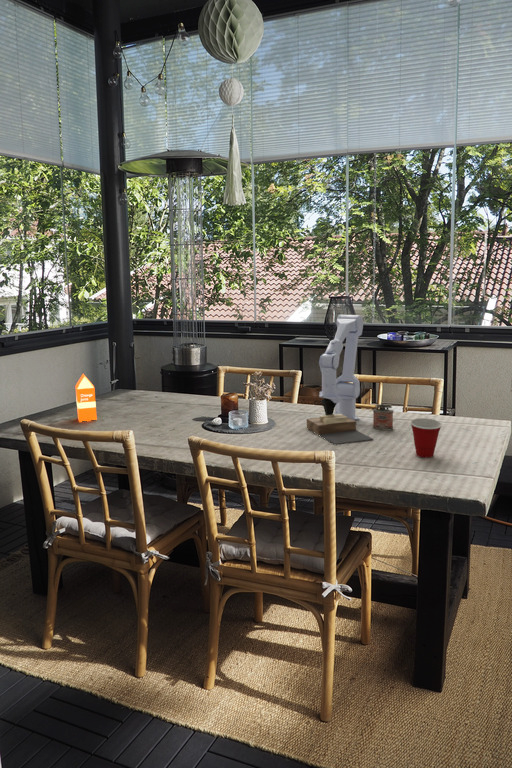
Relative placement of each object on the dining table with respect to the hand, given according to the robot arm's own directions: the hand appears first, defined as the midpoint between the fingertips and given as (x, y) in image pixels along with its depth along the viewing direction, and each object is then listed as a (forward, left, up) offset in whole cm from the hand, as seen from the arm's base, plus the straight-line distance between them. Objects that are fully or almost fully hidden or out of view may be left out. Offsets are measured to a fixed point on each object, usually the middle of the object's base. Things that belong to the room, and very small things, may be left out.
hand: (329, 417), depth 267 cm
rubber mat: (+15, 0, -5) cm, 16 cm away
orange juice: (-58, -90, -5) cm, 107 cm away
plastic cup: (+46, +15, -5) cm, 48 cm away
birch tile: (+4, 0, -1) cm, 4 cm away
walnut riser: (+2, 0, -5) cm, 5 cm away
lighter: (+8, +20, -5) cm, 22 cm away
